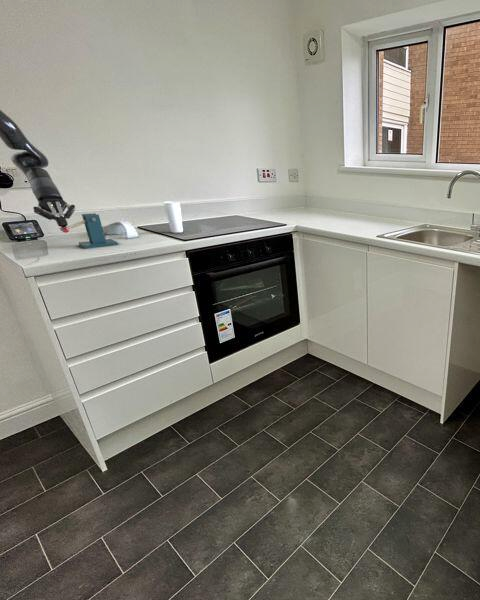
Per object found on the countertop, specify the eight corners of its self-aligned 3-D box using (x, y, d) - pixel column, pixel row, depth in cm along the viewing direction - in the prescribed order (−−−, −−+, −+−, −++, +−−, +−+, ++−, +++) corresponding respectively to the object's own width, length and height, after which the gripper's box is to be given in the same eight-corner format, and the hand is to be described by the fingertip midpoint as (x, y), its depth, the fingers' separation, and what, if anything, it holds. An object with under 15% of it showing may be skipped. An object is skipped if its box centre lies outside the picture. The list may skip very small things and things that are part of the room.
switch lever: (66, 234, 138) (62, 228, 137) (62, 232, 141) (58, 226, 140) (99, 220, 145) (95, 215, 144) (94, 219, 148) (90, 213, 147)
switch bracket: (85, 248, 142) (76, 216, 138) (79, 245, 147) (69, 214, 143) (118, 244, 151) (110, 214, 146) (110, 241, 156) (103, 212, 151)
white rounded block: (94, 233, 169) (90, 218, 166) (122, 230, 179) (118, 216, 176) (119, 240, 159) (115, 224, 156) (147, 236, 168) (144, 221, 166)
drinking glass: (183, 230, 184) (178, 201, 178) (186, 232, 179) (180, 202, 174) (168, 231, 180) (162, 201, 174) (170, 234, 175) (164, 203, 170)
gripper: (22, 185, 134) (40, 222, 132) (67, 185, 144) (85, 218, 141) (24, 199, 139) (42, 234, 136) (68, 197, 149) (85, 230, 146)
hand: (64, 226), depth 139 cm, fingers closed
